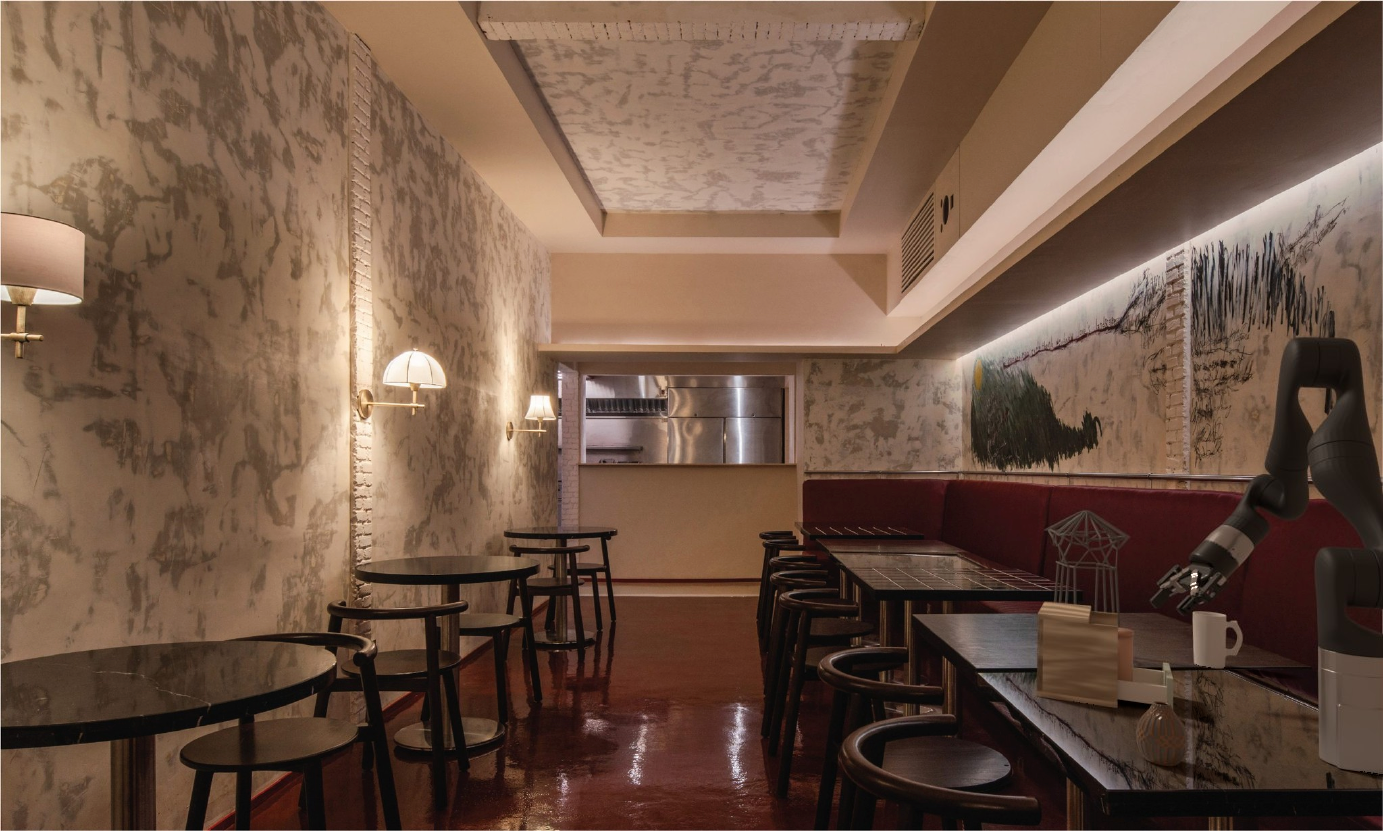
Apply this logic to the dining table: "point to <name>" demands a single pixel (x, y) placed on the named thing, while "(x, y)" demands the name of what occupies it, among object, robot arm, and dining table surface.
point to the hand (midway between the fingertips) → (1166, 609)
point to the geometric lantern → (1102, 523)
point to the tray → (1148, 686)
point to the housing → (1077, 654)
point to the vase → (1162, 735)
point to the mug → (1213, 639)
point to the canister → (1125, 654)
